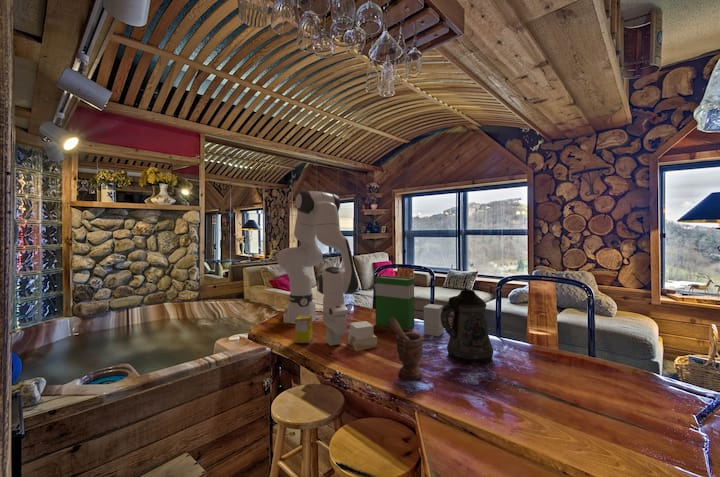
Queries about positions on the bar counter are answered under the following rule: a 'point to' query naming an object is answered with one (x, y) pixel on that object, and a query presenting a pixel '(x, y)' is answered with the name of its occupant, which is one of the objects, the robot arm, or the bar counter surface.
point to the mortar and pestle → (408, 351)
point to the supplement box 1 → (303, 329)
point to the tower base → (362, 342)
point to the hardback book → (395, 301)
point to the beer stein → (467, 329)
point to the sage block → (331, 338)
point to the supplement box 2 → (433, 320)
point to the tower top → (361, 330)
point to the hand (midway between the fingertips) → (333, 338)
